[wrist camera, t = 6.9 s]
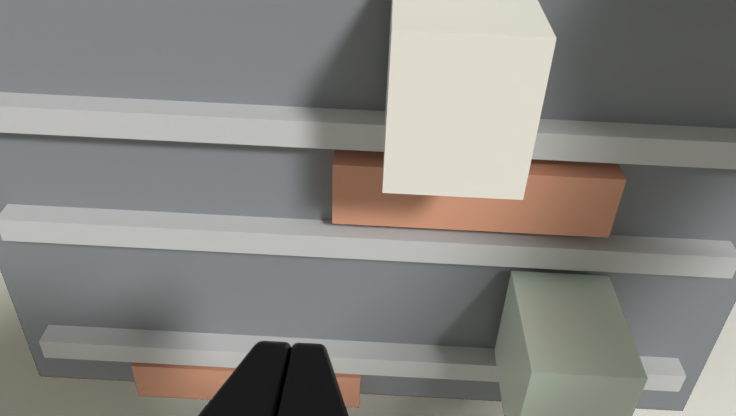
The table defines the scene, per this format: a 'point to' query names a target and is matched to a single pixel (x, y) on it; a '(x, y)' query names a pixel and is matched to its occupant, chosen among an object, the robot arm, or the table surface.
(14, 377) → the table surface
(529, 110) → the cream slider
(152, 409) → the table surface
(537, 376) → the sage slider
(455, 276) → the grey slider track board
